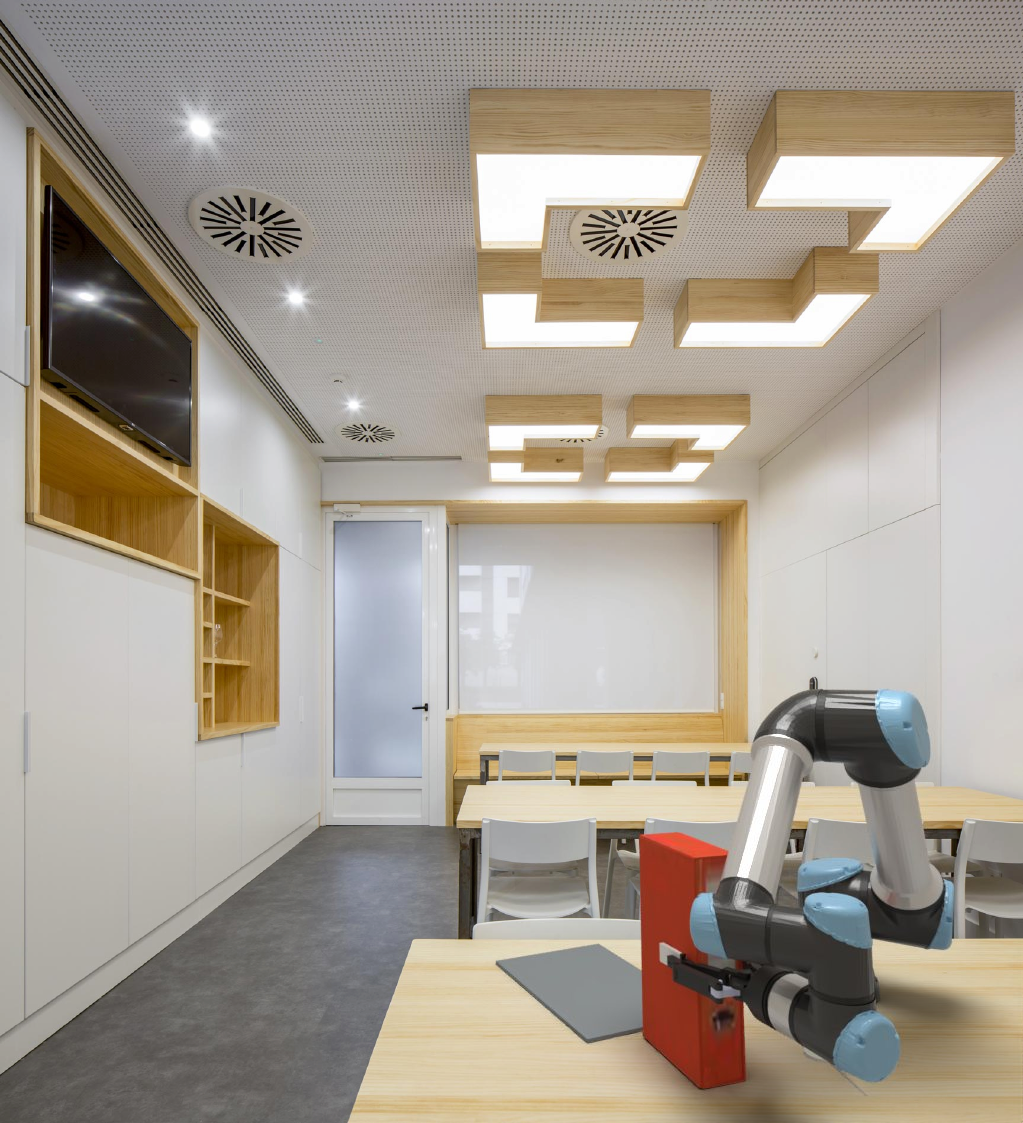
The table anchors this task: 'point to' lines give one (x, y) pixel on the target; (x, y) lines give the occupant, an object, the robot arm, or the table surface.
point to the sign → (818, 1058)
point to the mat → (583, 989)
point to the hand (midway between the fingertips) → (684, 947)
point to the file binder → (667, 1007)
